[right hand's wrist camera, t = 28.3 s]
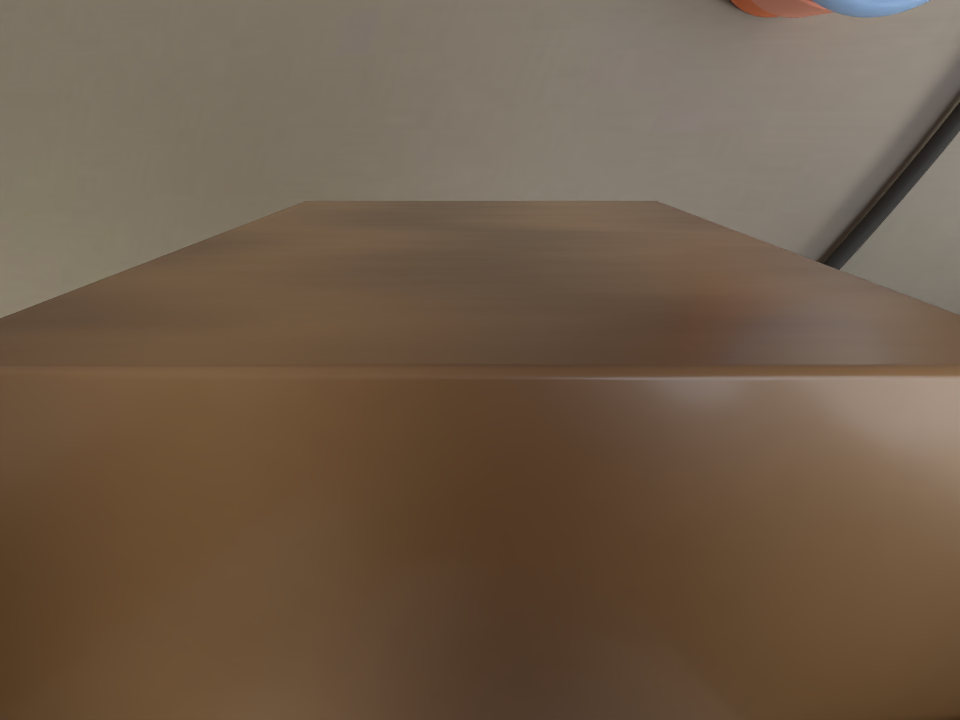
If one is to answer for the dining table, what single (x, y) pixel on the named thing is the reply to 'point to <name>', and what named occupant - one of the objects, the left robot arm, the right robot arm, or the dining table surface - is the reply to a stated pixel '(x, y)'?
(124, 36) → the dining table surface
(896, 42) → the dining table surface
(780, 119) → the dining table surface
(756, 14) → the cup with straw
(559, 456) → the block
